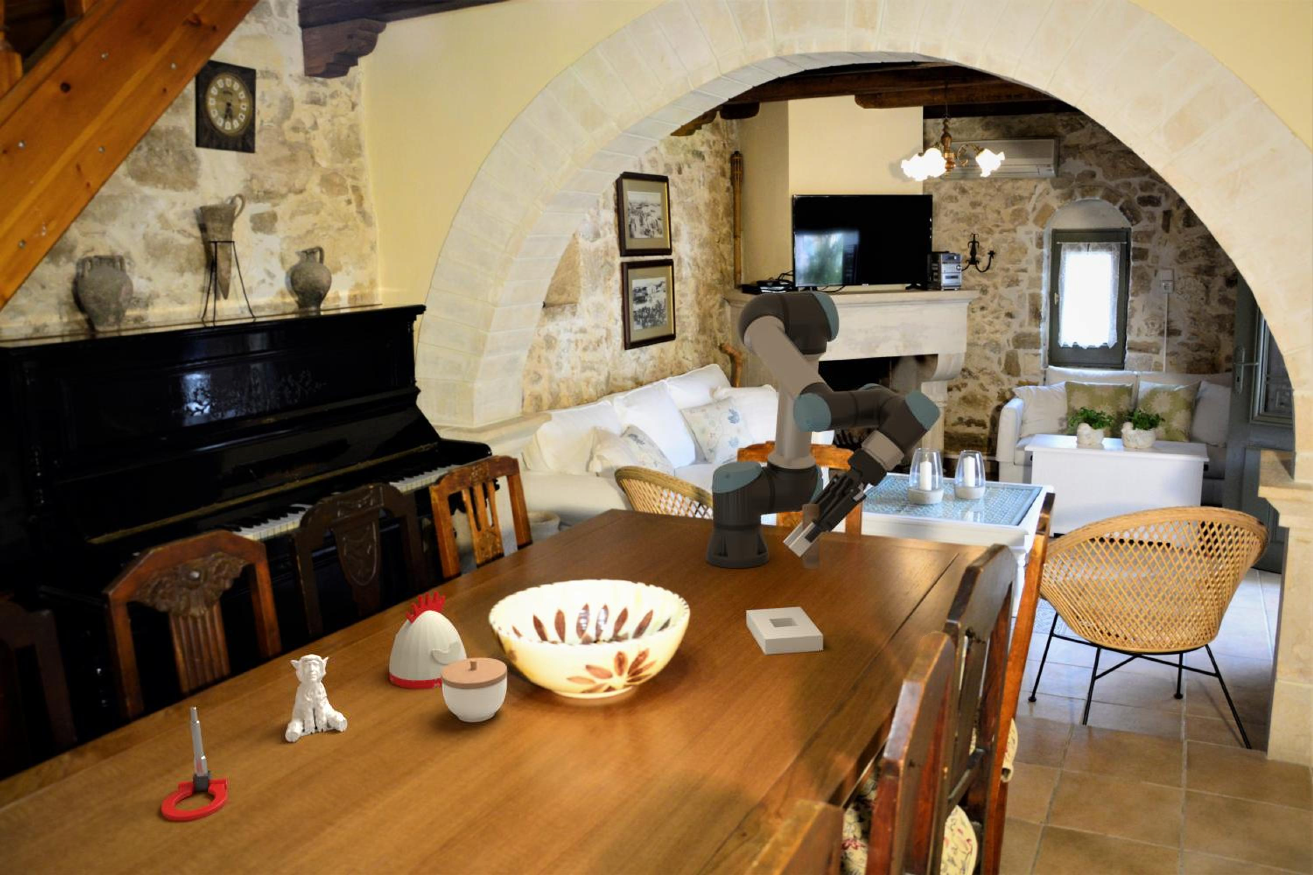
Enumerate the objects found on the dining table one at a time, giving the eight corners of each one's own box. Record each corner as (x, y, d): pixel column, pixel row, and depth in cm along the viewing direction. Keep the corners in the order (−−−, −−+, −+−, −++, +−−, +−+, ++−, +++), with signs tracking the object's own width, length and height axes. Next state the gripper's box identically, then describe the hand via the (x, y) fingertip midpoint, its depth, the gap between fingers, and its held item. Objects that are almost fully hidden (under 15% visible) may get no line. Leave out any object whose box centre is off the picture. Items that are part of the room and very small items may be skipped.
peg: (800, 564, 207) (800, 504, 205) (816, 562, 207) (816, 503, 205) (805, 568, 204) (805, 508, 202) (821, 567, 204) (821, 507, 202)
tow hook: (219, 820, 144) (235, 784, 153) (207, 734, 141) (225, 702, 150) (154, 827, 143) (174, 789, 152) (141, 740, 140) (163, 707, 149)
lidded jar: (520, 704, 178) (517, 651, 176) (490, 732, 168) (487, 676, 166) (463, 697, 181) (460, 645, 180) (430, 723, 171) (427, 668, 170)
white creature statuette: (286, 744, 165) (280, 671, 163) (278, 723, 173) (272, 653, 171) (348, 730, 170) (343, 659, 168) (337, 710, 177) (332, 642, 175)
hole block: (746, 624, 213) (746, 610, 212) (800, 620, 214) (800, 606, 214) (765, 654, 197) (765, 639, 197) (822, 650, 198) (822, 635, 198)
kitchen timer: (483, 671, 192) (479, 592, 190) (419, 695, 182) (413, 612, 180) (437, 652, 202) (433, 577, 199) (374, 675, 192) (368, 595, 189)
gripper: (903, 481, 197) (817, 574, 197) (872, 464, 213) (792, 550, 213) (876, 454, 195) (789, 548, 195) (846, 439, 211) (766, 526, 211)
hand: (791, 549), depth 204 cm, fingers closed on peg, 3 cm apart
